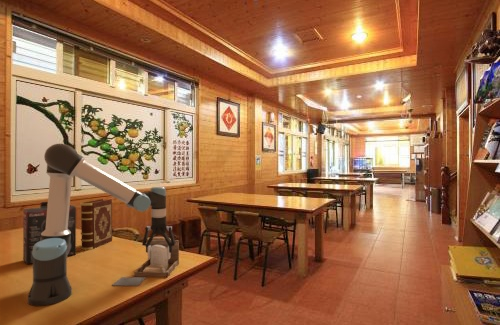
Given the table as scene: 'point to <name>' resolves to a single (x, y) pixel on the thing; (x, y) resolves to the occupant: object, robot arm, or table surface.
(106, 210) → the decorative book
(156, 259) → the photo printer
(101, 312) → the table surface
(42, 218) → the headset box
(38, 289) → the robot arm
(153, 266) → the offcut stack
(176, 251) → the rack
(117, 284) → the mat
